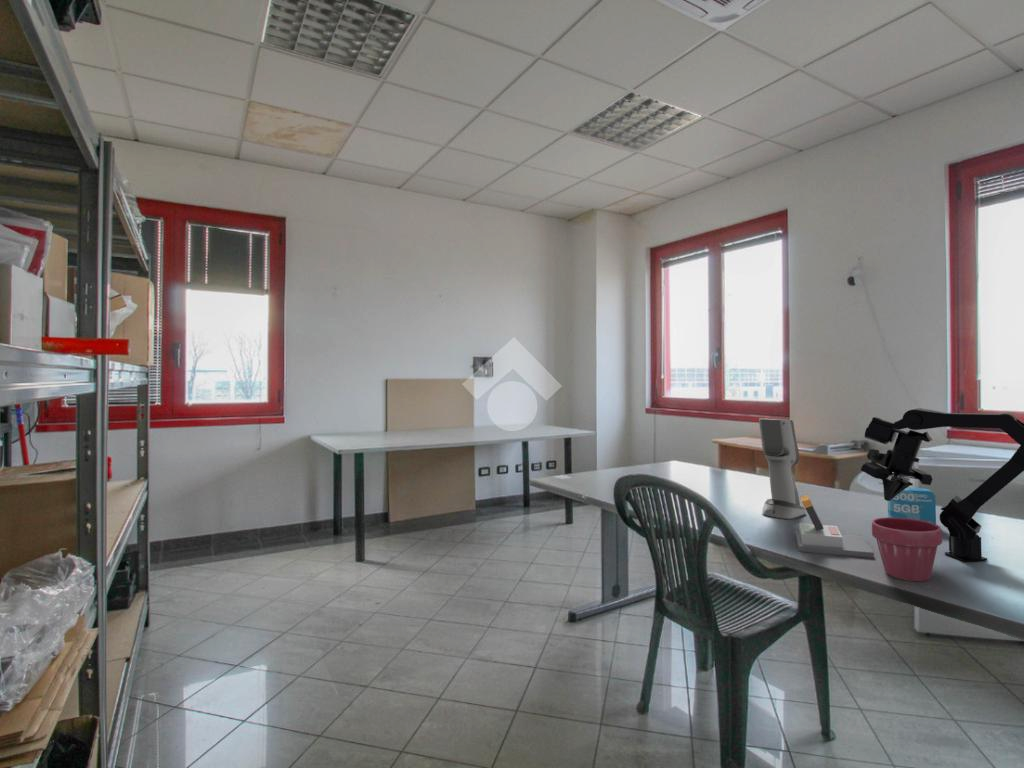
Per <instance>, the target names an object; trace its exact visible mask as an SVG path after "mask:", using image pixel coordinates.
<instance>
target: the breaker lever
mask: <svg viewBox="0 0 1024 768" xmlns="http://www.w3.org/2000/svg"><path fill="white" fill-rule="evenodd" d="M799 499H800V501H801V503H802V505H803V508H804V509H805V510H806V514H807V515H808V516H809V518H810V521H811V524H813V525H814V527H815V529H816V531H818V530H822V529H824V528H823V526H822V525H823V522H822V521H821V519H820V517H819V515H818V513H817V511H816V509H815V508H814V505H813V503H812V501H811V499H810V496H809V495H808V494H804V495H801V496H799Z"/></svg>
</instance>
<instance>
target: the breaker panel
mask: <svg viewBox="0 0 1024 768" xmlns="http://www.w3.org/2000/svg"><path fill="white" fill-rule="evenodd" d="M798 524H799V527H798V528H799V529H798V530H795V531H794V532H795V540H796V544H797V547H798V552H799V553H800V552H803V553H813V554H822V555H823V554H825V555H833V556H834V555H835V556H846V557H857V558H868V559H875V553H874V551H873V549H872V548H871V546H870V545H869V543H868V542H867V540H866V538H865V536H863V535H851V534H849V535H848V534H841V532H840V530H839V527H838V526H837V525H825V524H822V526H823V528H824V529H822V530H818V531H816V529H815V527H814V525H813V523H798Z"/></svg>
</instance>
